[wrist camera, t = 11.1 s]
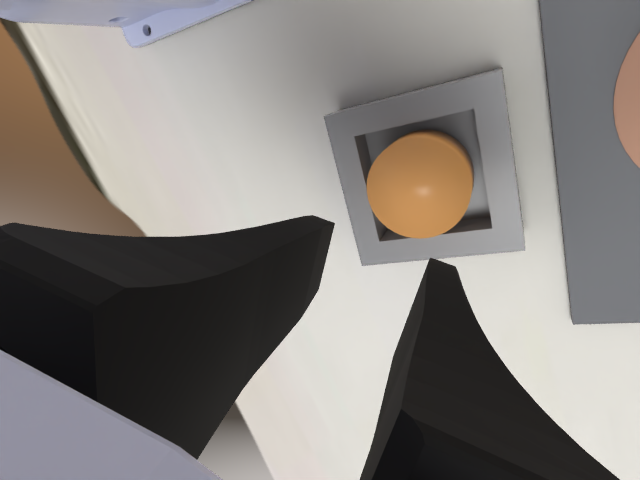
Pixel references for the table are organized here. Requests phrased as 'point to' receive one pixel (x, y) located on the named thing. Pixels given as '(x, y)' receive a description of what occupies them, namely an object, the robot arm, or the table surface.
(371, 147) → the button housing
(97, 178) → the table surface
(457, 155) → the button
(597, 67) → the drawing mat
